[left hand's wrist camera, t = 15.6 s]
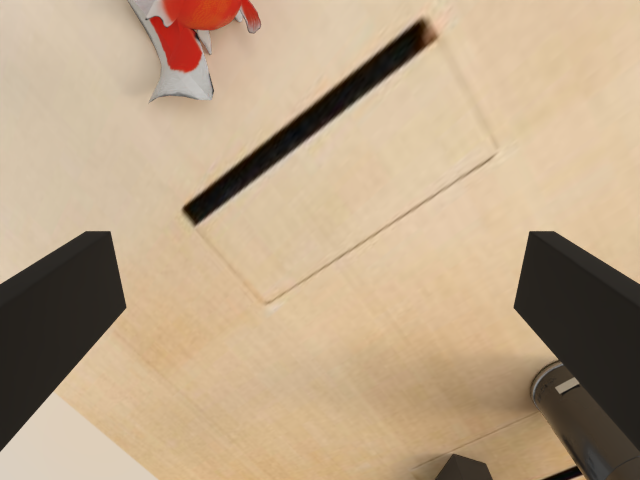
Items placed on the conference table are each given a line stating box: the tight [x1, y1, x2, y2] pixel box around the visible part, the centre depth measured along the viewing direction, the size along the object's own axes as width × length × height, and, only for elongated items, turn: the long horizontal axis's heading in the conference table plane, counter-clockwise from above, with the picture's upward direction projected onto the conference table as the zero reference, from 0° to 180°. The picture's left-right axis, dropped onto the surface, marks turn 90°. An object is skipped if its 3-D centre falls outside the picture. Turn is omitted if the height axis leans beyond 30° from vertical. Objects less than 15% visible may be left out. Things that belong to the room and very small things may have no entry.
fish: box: [128, 0, 261, 104], centre depth 34 cm, size 11×16×10 cm
